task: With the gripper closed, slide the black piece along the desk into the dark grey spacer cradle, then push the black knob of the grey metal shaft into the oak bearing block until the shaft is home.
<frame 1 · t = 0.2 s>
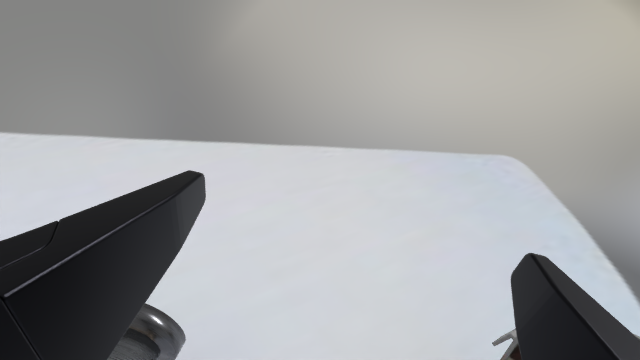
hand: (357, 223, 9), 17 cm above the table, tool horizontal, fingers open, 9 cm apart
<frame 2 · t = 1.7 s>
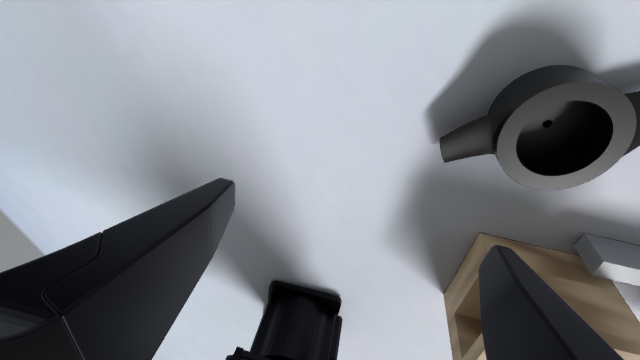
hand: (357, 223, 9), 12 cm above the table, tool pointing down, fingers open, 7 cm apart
black piece: (540, 116, 19), on the table
bearing block: (513, 279, 25), on the table
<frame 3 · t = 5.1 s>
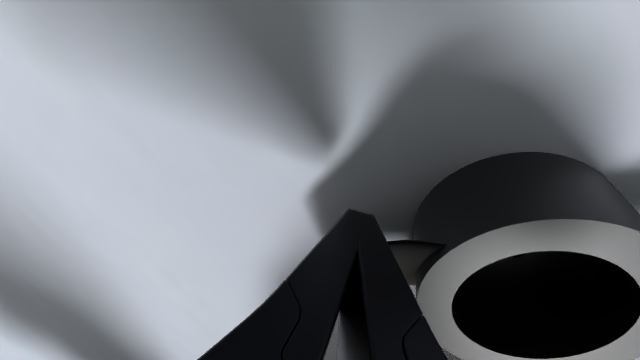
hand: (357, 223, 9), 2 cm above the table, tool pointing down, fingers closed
black piece: (506, 227, 11), on the table, touching gripper
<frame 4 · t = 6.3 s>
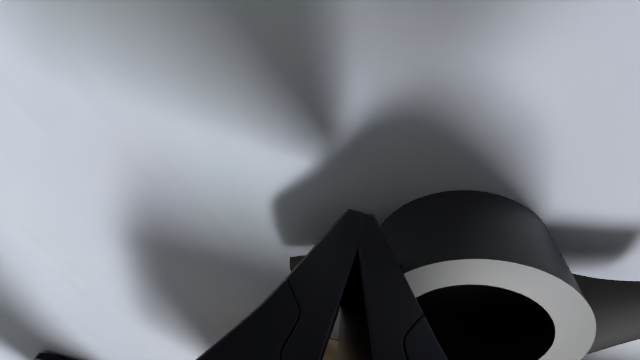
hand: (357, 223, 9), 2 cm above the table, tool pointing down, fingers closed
black piece: (455, 253, 12), on the table, touching gripper
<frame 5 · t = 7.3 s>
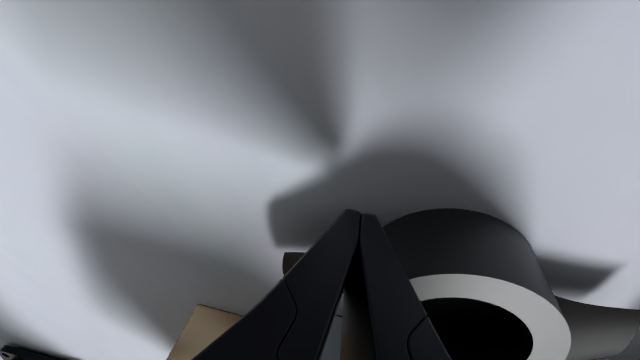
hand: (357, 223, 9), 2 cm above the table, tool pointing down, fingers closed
black piece: (441, 263, 12), on the table
spacer cradle: (576, 242, 10), on the table
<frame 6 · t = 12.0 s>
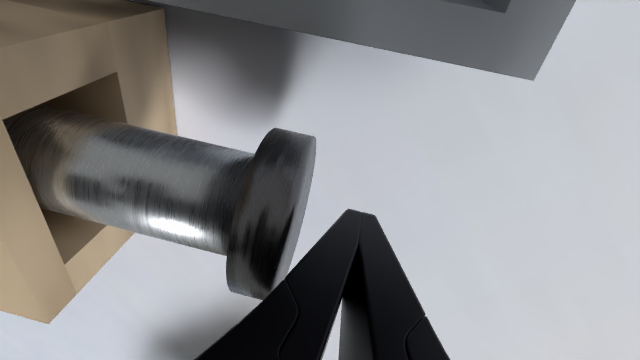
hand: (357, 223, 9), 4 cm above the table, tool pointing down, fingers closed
bearing block: (77, 86, 13), on the table
shaft: (88, 166, 9), point 4 cm above the table, slide at 3.4 cm, touching gripper
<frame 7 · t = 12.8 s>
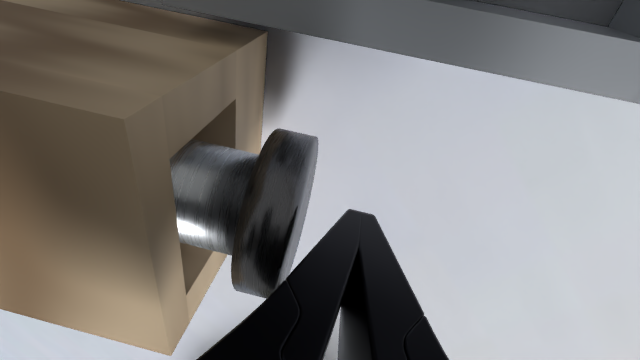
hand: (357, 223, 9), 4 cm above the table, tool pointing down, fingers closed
bearing block: (162, 106, 13), on the table
shaft: (92, 166, 9), point 4 cm above the table, slide at 0.0 cm, touching gripper
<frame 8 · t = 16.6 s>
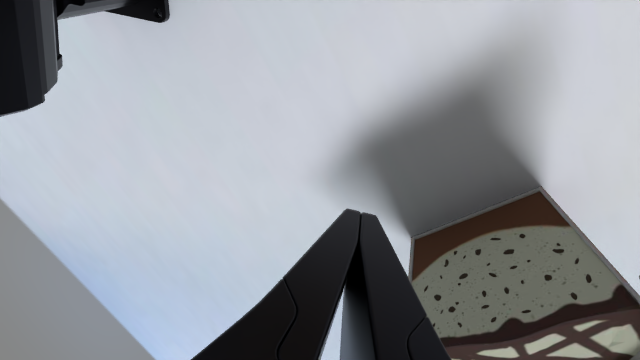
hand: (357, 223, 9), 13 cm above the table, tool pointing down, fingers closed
food container: (488, 240, 25), on the table
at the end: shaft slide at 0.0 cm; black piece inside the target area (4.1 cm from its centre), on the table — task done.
